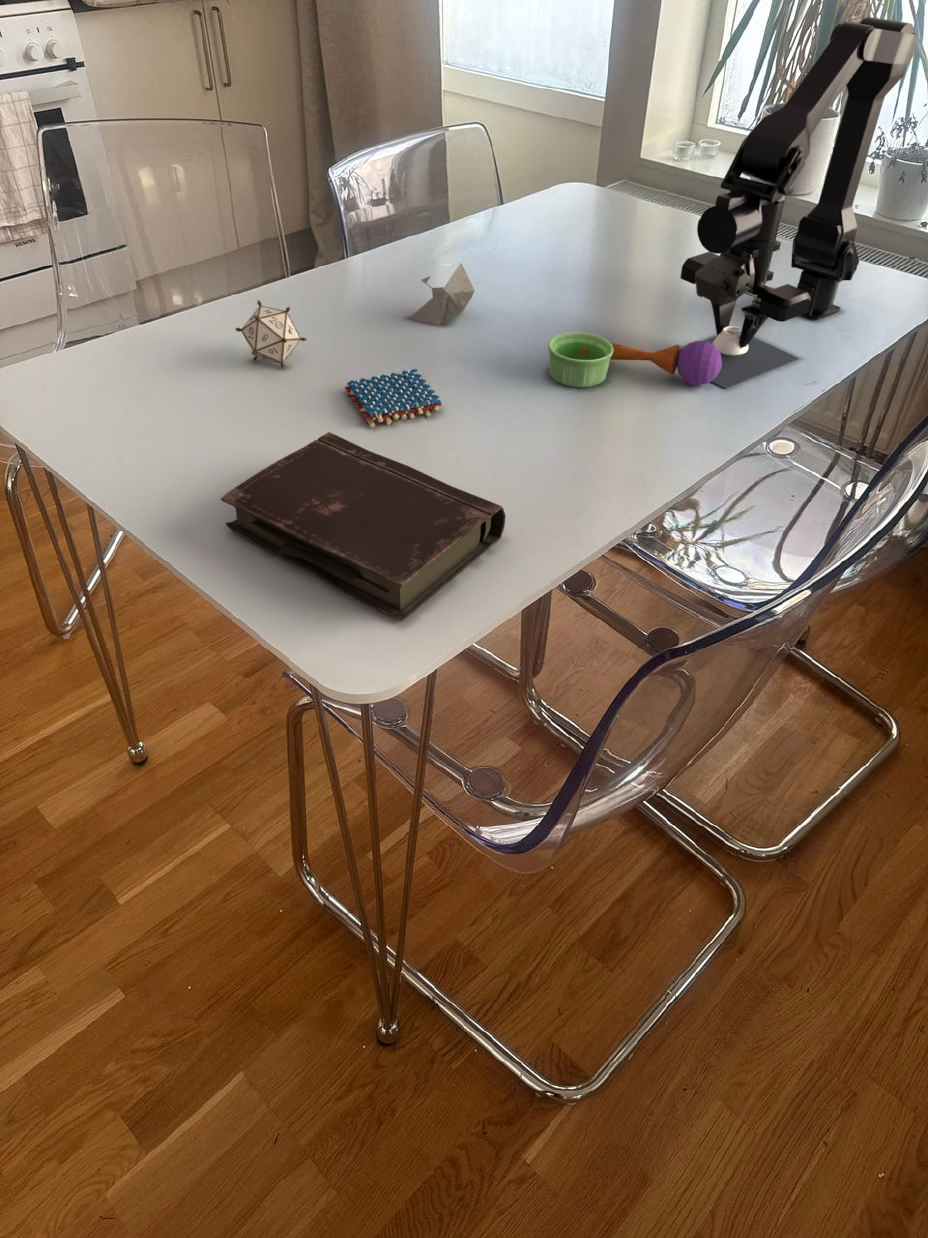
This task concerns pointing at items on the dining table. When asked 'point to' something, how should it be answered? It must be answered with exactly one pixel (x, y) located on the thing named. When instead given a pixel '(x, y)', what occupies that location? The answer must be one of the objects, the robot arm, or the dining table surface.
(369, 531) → the diary
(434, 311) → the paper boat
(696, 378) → the kendama
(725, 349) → the white jar
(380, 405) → the woven mat
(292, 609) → the dining table surface
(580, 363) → the ramekin
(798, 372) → the dining table surface
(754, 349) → the slate mat
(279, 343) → the game die
